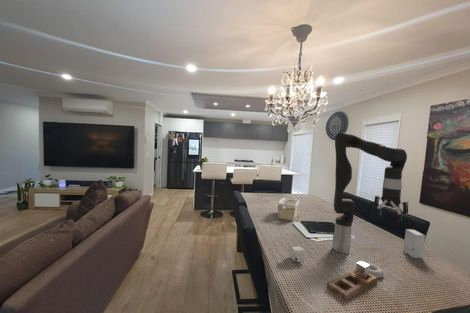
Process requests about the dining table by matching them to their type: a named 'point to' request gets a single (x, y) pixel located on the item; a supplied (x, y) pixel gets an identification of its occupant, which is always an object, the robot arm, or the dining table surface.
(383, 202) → the robot arm
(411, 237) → the skincare box
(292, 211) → the storage basket
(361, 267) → the silver metal block
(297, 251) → the elephant figurine
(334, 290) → the wooden compartment tray
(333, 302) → the dining table surface
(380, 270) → the donut
